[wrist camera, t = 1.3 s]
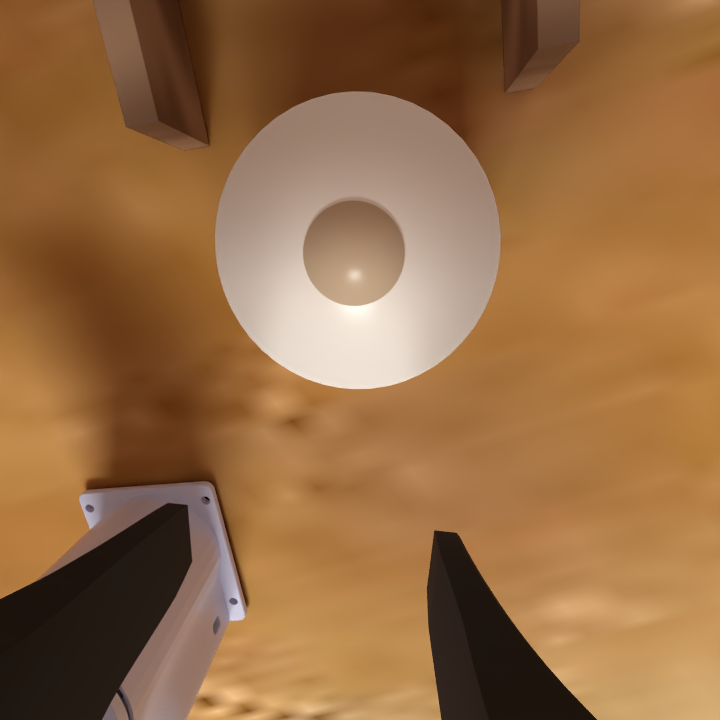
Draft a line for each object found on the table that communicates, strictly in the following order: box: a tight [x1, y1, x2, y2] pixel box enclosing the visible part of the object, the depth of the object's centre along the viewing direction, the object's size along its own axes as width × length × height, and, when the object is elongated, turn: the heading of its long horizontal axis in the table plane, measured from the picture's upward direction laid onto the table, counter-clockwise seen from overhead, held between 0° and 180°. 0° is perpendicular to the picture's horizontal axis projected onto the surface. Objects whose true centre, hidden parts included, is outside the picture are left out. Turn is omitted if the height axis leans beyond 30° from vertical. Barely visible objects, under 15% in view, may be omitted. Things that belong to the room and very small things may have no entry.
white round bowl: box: [215, 91, 501, 389], centre depth 16 cm, size 9×9×6 cm
